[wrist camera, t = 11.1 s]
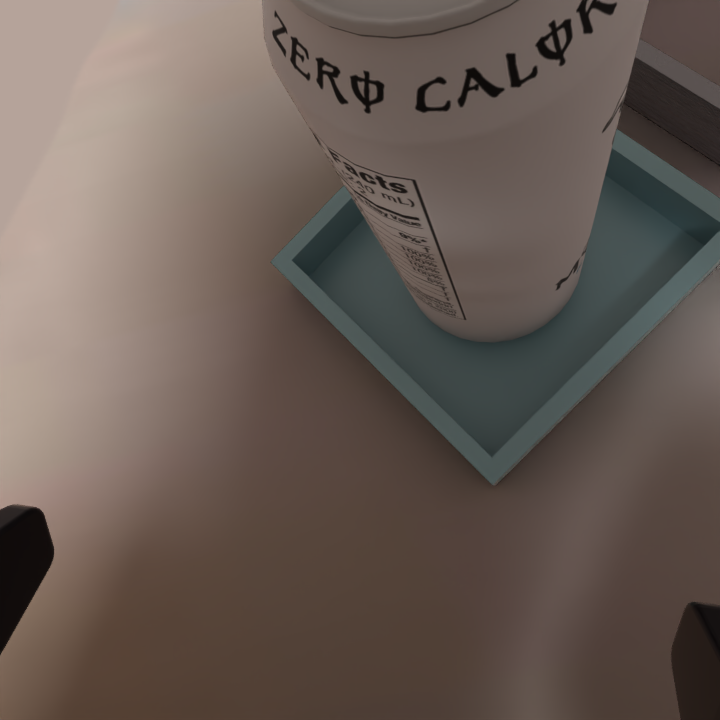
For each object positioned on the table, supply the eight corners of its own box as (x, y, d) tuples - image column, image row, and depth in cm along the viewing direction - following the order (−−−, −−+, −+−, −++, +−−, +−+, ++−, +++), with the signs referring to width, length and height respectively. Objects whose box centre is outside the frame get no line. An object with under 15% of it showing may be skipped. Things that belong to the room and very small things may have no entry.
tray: (731, 251, 20) (756, 222, 18) (496, 485, 21) (492, 485, 18) (487, 80, 24) (483, 39, 22) (293, 281, 24) (270, 261, 22)
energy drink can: (601, 325, 20) (775, -52, 6) (429, 366, 21) (240, 137, 7) (555, 170, 22) (607, -421, 8) (396, 218, 23) (187, -209, 9)
